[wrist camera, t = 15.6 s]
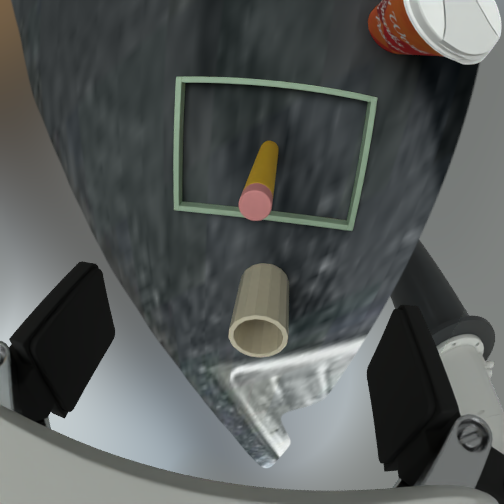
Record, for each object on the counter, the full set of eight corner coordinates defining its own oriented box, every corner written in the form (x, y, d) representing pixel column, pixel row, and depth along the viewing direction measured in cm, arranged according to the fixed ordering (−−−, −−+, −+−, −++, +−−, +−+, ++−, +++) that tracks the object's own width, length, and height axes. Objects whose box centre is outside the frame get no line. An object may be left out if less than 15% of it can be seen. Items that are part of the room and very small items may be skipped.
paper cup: (345, 0, 22) (391, -45, 10) (412, -7, 21) (484, -39, 9) (370, 70, 26) (433, 69, 14) (434, 60, 24) (518, 63, 12)
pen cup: (291, 263, 38) (292, 319, 29) (285, 301, 41) (283, 360, 32) (243, 257, 38) (229, 311, 29) (240, 296, 41) (227, 353, 32)
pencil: (279, 141, 30) (273, 192, 17) (277, 158, 31) (269, 223, 18) (261, 139, 31) (239, 188, 17) (259, 156, 31) (237, 219, 18)
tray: (372, 96, 27) (377, 97, 26) (349, 223, 35) (352, 231, 33) (182, 77, 28) (175, 76, 27) (179, 203, 35) (173, 210, 34)
